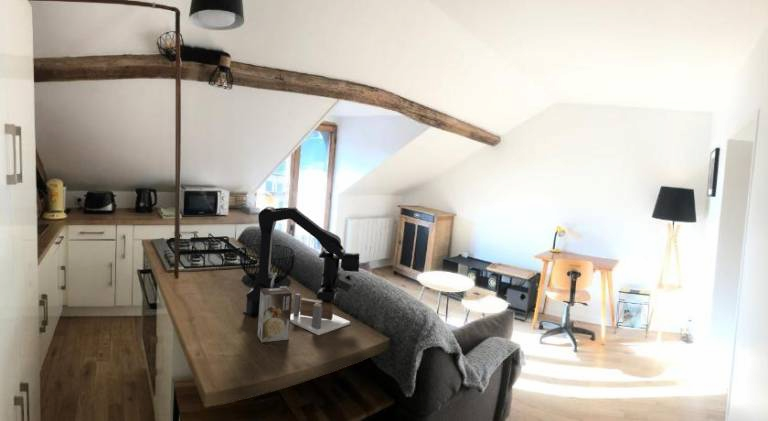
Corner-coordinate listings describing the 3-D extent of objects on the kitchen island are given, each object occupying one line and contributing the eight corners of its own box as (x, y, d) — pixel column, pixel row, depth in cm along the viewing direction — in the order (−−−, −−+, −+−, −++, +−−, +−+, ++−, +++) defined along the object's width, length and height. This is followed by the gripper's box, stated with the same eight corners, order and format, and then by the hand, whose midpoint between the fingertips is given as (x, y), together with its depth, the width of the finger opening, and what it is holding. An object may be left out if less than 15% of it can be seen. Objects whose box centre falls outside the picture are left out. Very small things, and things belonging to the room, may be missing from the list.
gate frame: (318, 335, 156) (321, 307, 155) (283, 318, 167) (286, 292, 165) (349, 324, 169) (352, 298, 167) (315, 309, 179) (318, 285, 178)
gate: (331, 320, 166) (332, 304, 165) (299, 315, 168) (300, 299, 167) (332, 318, 168) (334, 302, 167) (300, 313, 169) (302, 298, 168)
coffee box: (284, 332, 156) (287, 286, 153) (289, 340, 150) (293, 293, 148) (256, 334, 151) (260, 287, 149) (260, 342, 146) (264, 294, 143)
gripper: (350, 279, 159) (346, 322, 161) (354, 264, 177) (351, 303, 179) (318, 276, 159) (314, 318, 161) (326, 261, 177) (323, 300, 180)
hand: (327, 309), depth 170 cm, fingers closed
